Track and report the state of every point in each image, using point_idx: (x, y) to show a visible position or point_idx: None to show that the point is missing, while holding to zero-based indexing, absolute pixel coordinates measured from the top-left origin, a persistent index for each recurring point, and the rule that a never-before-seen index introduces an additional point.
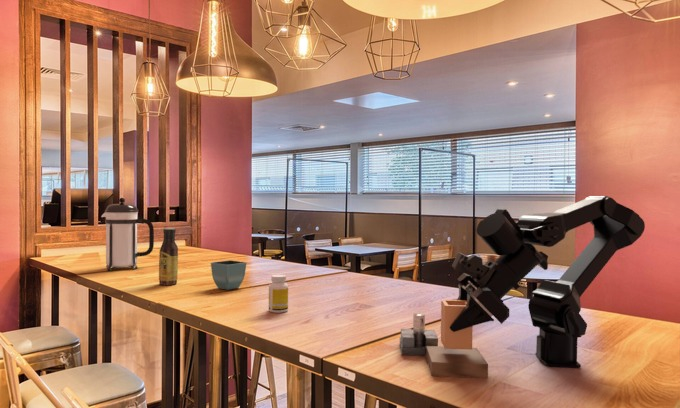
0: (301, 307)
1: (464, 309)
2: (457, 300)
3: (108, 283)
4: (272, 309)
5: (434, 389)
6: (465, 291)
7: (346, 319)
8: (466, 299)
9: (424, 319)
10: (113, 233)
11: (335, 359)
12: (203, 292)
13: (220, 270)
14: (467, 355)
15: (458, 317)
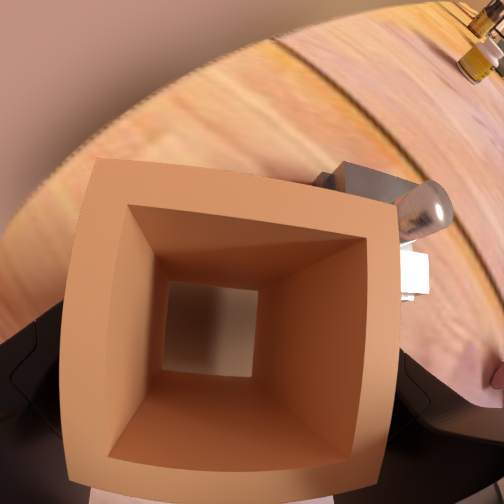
0: (491, 106)
1: (15, 361)
2: (378, 387)
3: (447, 4)
4: (458, 61)
5: (56, 215)
6: (466, 490)
7: (482, 146)
8: (402, 474)
9: (421, 228)
10: (491, 4)
11: (266, 52)
12: (473, 43)
13: (499, 46)
14: (198, 372)
15: (61, 305)
